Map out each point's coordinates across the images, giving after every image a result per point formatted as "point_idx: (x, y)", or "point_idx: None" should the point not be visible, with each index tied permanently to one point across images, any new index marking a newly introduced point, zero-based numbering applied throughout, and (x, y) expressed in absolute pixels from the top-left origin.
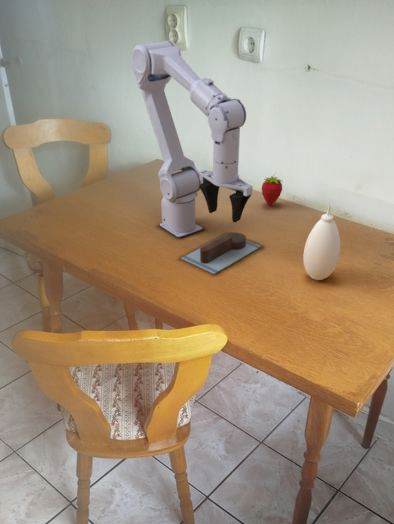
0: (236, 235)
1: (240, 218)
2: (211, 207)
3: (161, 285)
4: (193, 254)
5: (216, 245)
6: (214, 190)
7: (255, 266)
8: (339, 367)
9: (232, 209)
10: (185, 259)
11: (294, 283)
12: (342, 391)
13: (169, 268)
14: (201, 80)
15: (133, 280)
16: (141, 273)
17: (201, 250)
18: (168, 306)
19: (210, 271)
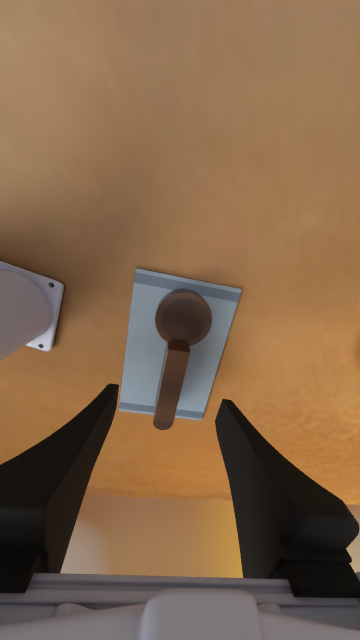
0: (182, 311)
1: (234, 404)
2: (109, 423)
3: (145, 472)
4: (129, 391)
5: (177, 400)
6: (75, 485)
7: (257, 364)
8: None
9: (231, 481)
10: (129, 411)
11: (339, 378)
12: None
13: (123, 438)
14: None
15: (101, 481)
16: (96, 465)
17: (160, 429)
18: (185, 495)
19: (192, 419)
